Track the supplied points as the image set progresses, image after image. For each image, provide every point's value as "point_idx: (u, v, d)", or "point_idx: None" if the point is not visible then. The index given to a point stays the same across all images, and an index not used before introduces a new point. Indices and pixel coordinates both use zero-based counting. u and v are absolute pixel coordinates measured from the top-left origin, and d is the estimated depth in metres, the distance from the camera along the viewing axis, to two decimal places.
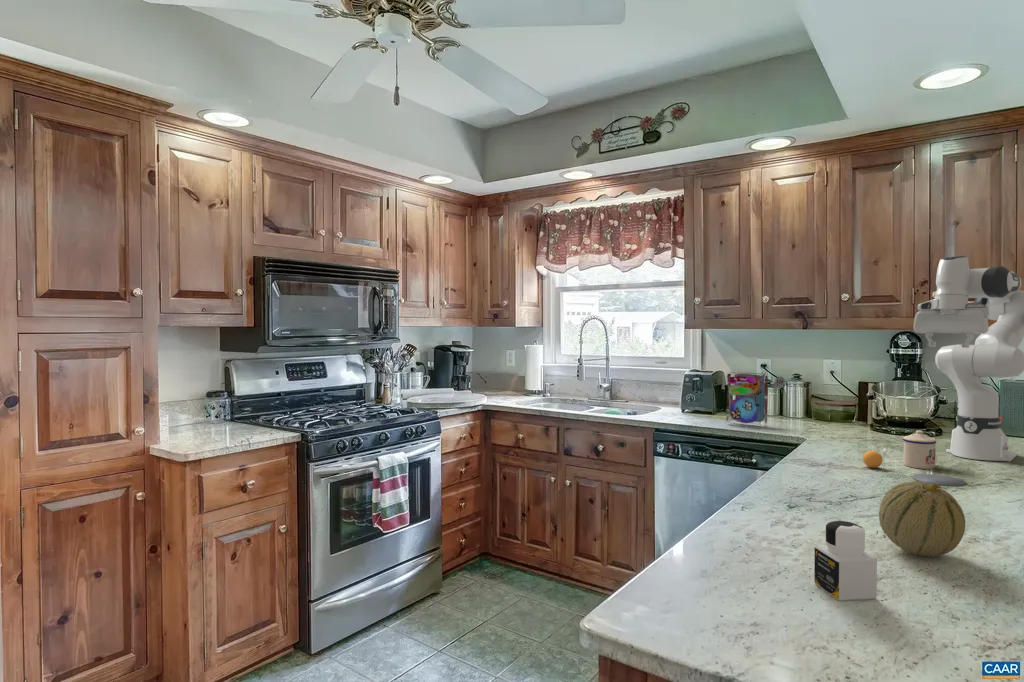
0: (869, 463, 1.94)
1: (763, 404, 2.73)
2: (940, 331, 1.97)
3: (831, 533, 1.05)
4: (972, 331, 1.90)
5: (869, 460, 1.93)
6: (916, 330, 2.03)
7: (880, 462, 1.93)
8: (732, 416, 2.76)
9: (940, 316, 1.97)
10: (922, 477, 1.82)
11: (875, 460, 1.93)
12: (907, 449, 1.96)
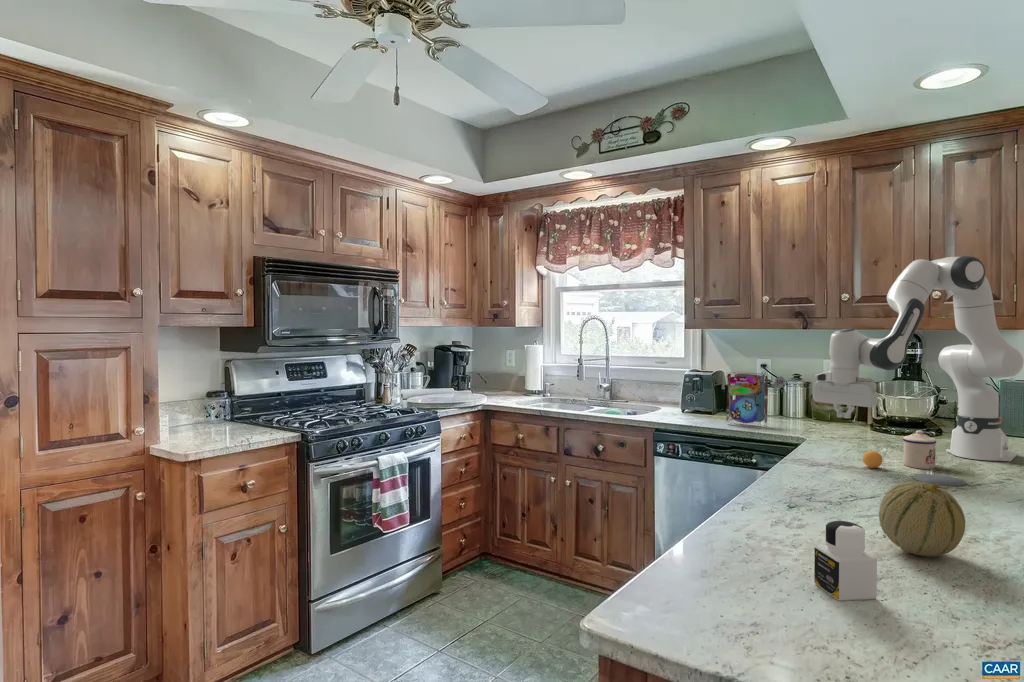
0: (869, 463, 1.94)
1: (763, 404, 2.73)
2: (835, 402, 2.03)
3: (831, 533, 1.05)
4: (862, 405, 1.96)
5: (869, 460, 1.93)
6: (815, 399, 2.09)
7: (880, 462, 1.93)
8: (732, 416, 2.76)
9: (834, 387, 2.04)
10: (922, 477, 1.82)
11: (875, 460, 1.93)
12: (907, 449, 1.96)
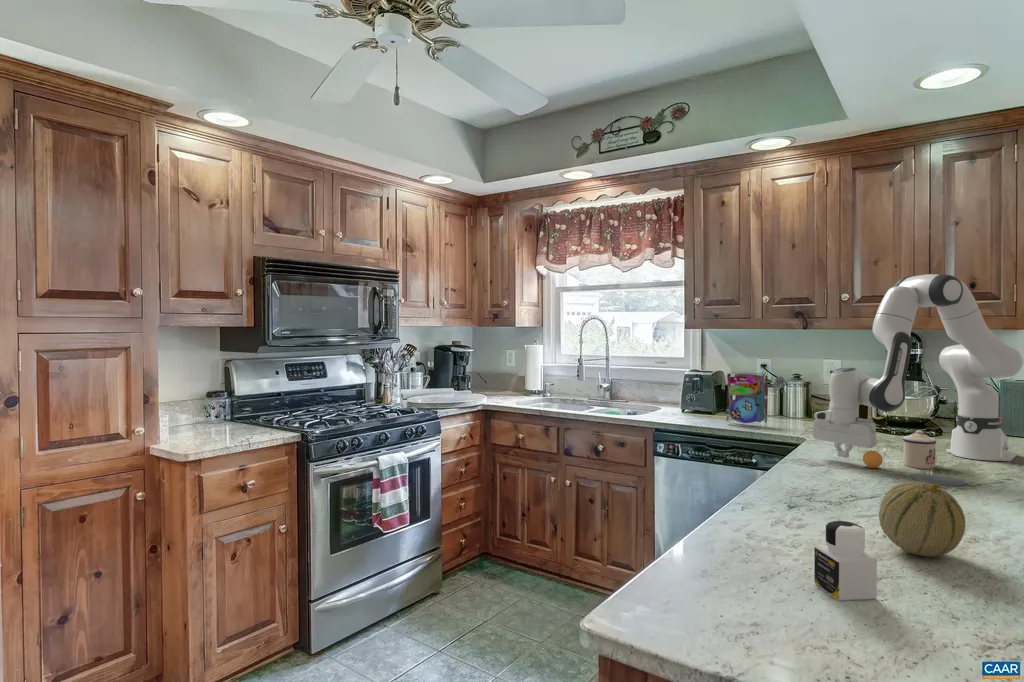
0: (869, 463, 1.94)
1: (763, 404, 2.73)
2: (835, 441, 2.04)
3: (831, 533, 1.05)
4: (861, 445, 1.96)
5: (869, 460, 1.93)
6: (814, 437, 2.10)
7: (880, 462, 1.93)
8: (732, 416, 2.76)
9: (834, 426, 2.04)
10: (922, 477, 1.82)
11: (875, 460, 1.93)
12: (907, 449, 1.96)
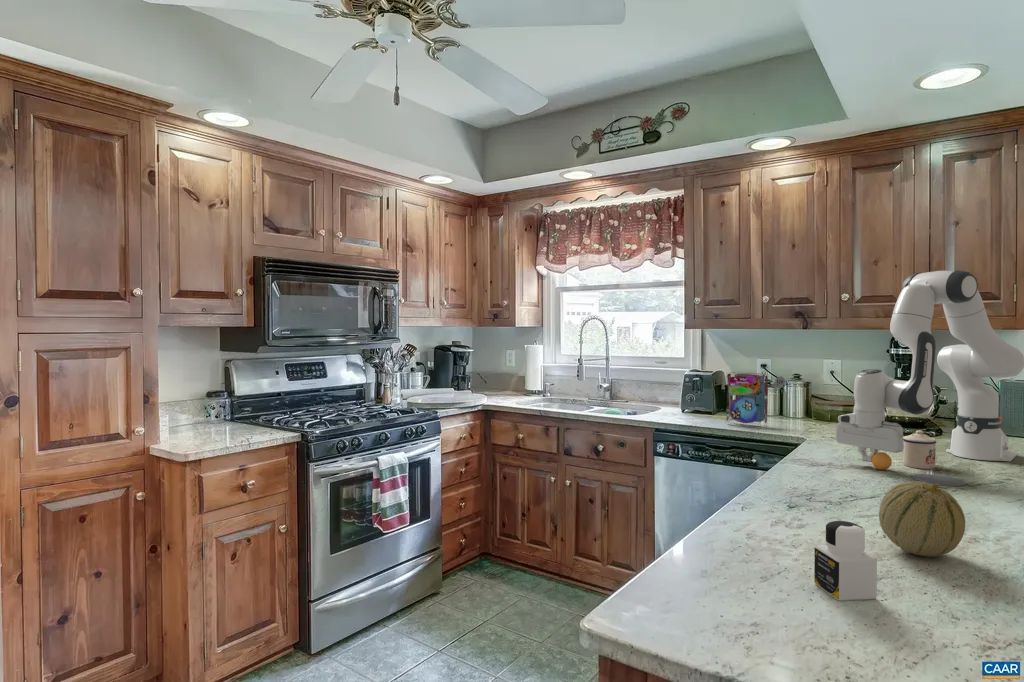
0: (876, 465, 1.92)
1: (763, 404, 2.73)
2: (859, 445, 1.97)
3: (831, 533, 1.05)
4: (888, 450, 1.89)
5: (878, 463, 1.91)
6: (838, 441, 2.03)
7: (886, 468, 1.91)
8: (732, 416, 2.76)
9: (859, 430, 1.97)
10: (922, 477, 1.82)
11: (884, 466, 1.90)
12: (907, 449, 1.96)
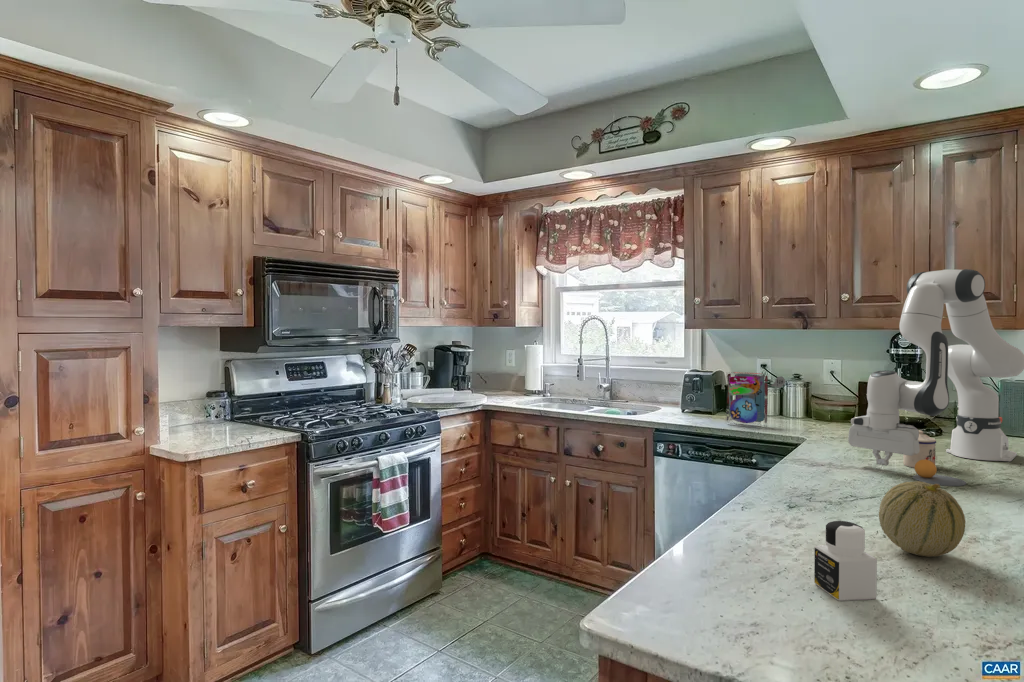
0: (926, 470, 1.80)
1: (763, 404, 2.73)
2: (873, 448, 1.93)
3: (831, 533, 1.05)
4: (903, 453, 1.86)
5: (922, 468, 1.80)
6: (851, 444, 1.99)
7: (930, 462, 1.81)
8: (732, 416, 2.76)
9: (873, 433, 1.93)
10: (922, 477, 1.82)
11: (924, 463, 1.81)
12: None
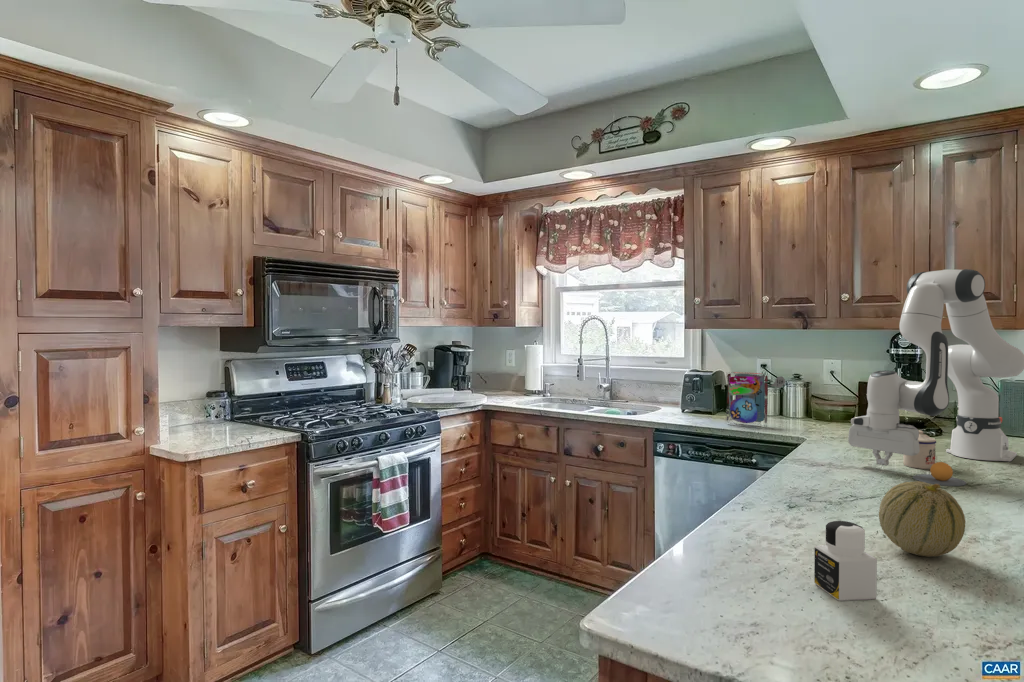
0: (938, 476, 1.77)
1: (763, 404, 2.73)
2: (873, 448, 1.93)
3: (831, 533, 1.05)
4: (903, 453, 1.86)
5: (939, 473, 1.77)
6: (851, 444, 1.99)
7: (950, 477, 1.77)
8: (732, 416, 2.76)
9: (873, 433, 1.93)
10: (922, 477, 1.82)
11: (946, 475, 1.76)
12: None
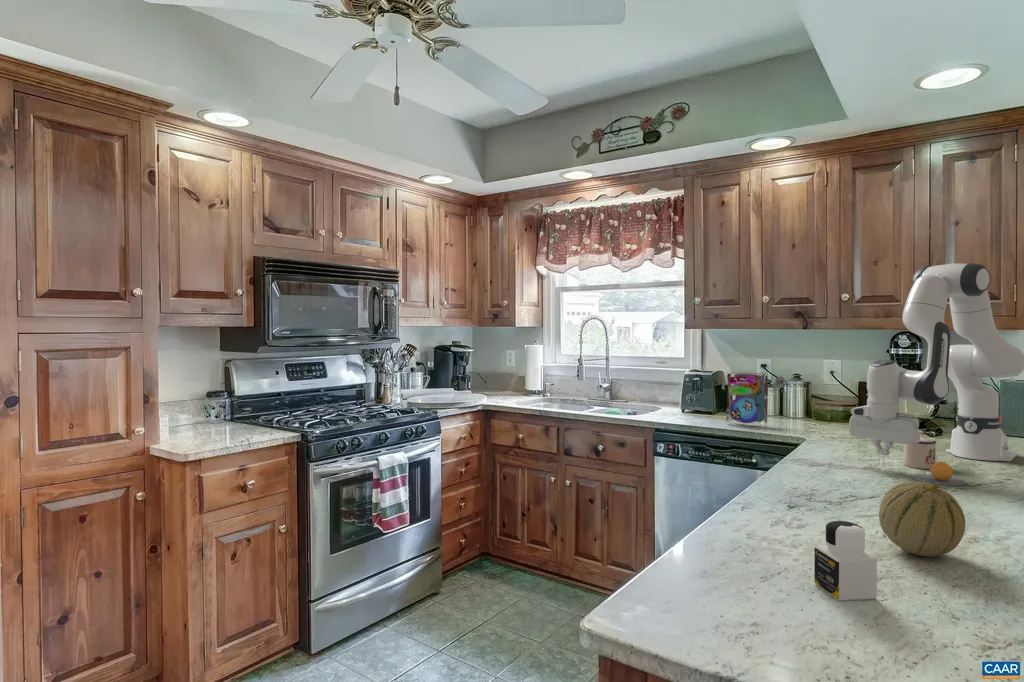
0: (938, 476, 1.77)
1: (763, 404, 2.73)
2: (874, 438, 1.94)
3: (831, 533, 1.05)
4: (904, 442, 1.86)
5: (939, 473, 1.77)
6: (851, 434, 1.99)
7: (950, 477, 1.77)
8: (732, 416, 2.76)
9: (873, 423, 1.94)
10: (922, 477, 1.82)
11: (946, 475, 1.76)
12: (907, 449, 1.96)
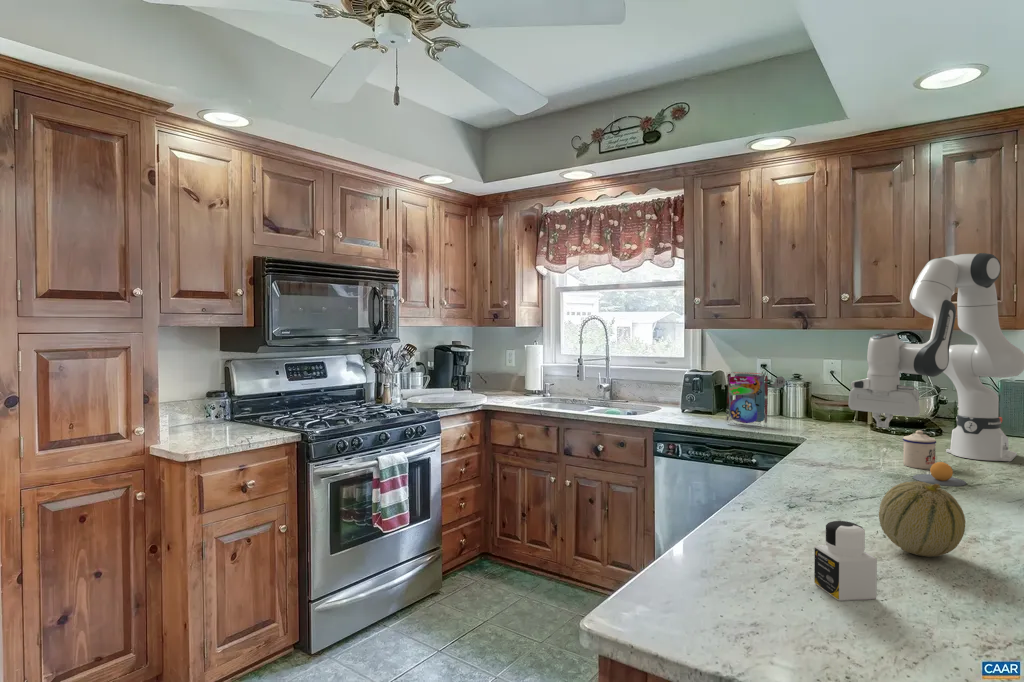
0: (938, 476, 1.77)
1: (763, 404, 2.73)
2: (873, 411, 1.93)
3: (831, 533, 1.05)
4: (903, 414, 1.85)
5: (939, 473, 1.77)
6: (851, 408, 1.99)
7: (950, 477, 1.77)
8: (732, 416, 2.76)
9: (873, 395, 1.93)
10: (922, 477, 1.82)
11: (946, 475, 1.76)
12: (907, 449, 1.96)
